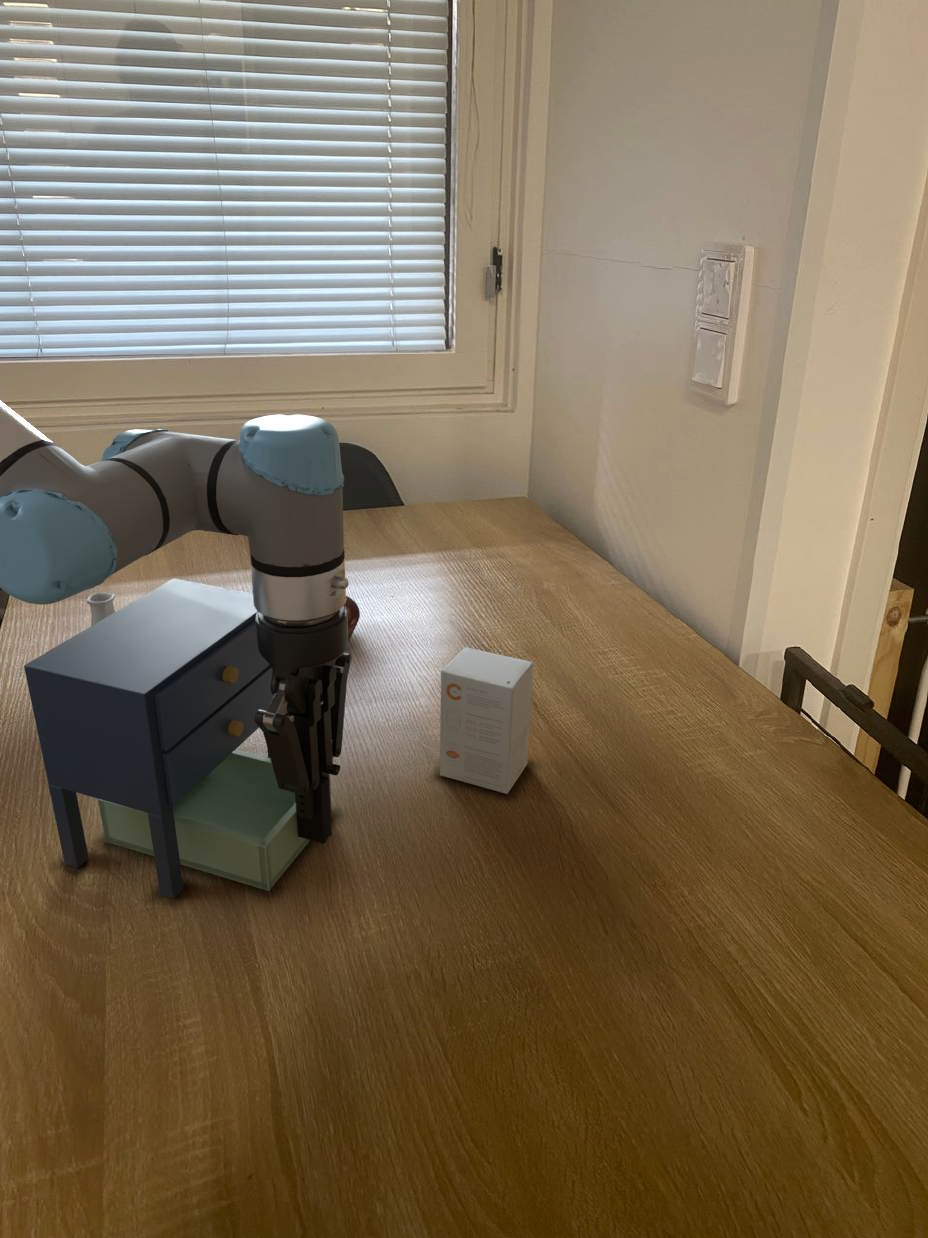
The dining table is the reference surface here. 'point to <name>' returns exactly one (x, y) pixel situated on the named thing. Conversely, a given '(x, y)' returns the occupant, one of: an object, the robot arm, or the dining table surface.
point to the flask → (100, 606)
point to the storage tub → (224, 823)
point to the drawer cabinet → (148, 708)
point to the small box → (485, 719)
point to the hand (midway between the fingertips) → (315, 835)
